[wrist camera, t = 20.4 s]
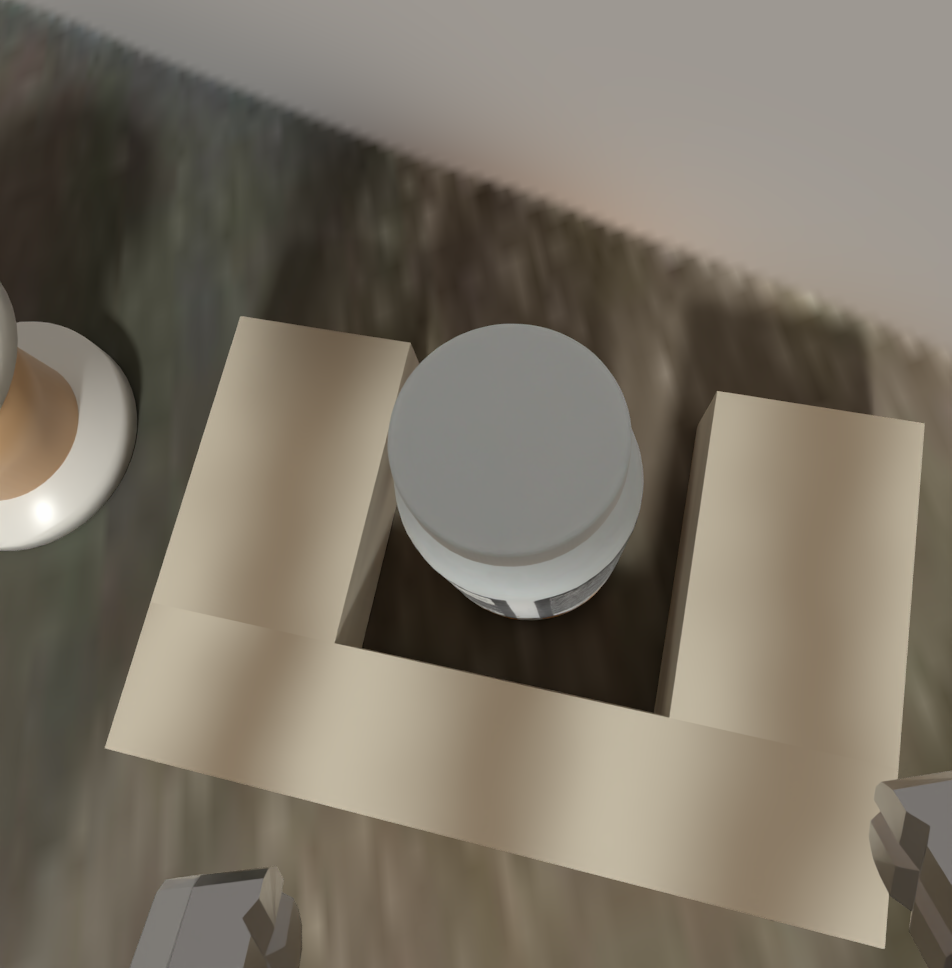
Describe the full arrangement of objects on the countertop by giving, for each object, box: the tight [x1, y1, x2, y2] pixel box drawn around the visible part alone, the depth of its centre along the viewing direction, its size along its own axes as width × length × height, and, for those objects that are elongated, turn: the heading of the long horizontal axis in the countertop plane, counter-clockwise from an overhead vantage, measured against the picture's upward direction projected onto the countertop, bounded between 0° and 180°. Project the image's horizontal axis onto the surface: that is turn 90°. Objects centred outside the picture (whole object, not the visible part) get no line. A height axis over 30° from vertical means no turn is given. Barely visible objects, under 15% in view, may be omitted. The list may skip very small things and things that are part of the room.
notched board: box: [105, 316, 925, 949], centre depth 22 cm, size 20×13×3 cm, turn 79°
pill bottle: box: [387, 324, 644, 620], centre depth 19 cm, size 6×6×10 cm
